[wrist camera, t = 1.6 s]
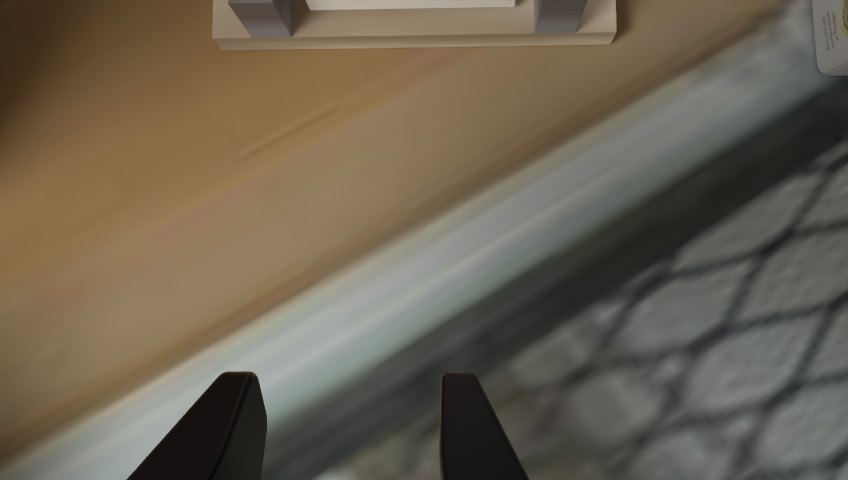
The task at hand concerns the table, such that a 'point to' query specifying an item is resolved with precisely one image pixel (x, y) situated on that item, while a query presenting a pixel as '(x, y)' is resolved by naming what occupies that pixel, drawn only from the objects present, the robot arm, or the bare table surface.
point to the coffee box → (831, 36)
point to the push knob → (404, 4)
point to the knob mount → (410, 25)
